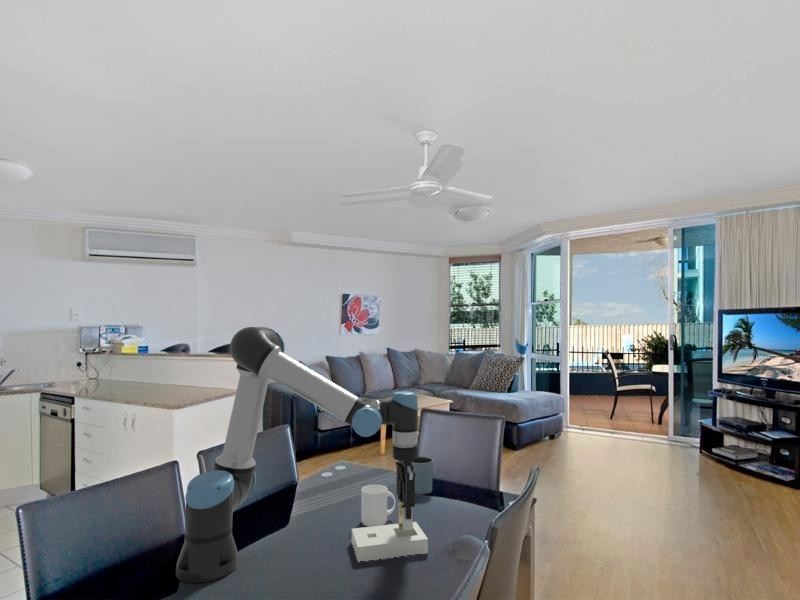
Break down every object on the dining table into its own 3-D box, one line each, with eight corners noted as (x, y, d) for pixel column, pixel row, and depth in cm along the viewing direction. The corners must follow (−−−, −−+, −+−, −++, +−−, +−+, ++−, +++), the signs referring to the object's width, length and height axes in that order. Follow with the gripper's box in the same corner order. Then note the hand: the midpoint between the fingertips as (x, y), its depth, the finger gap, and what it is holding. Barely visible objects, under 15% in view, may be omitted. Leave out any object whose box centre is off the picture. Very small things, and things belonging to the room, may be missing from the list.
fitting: (400, 530, 128) (400, 505, 129) (397, 524, 132) (396, 500, 133) (414, 529, 129) (414, 504, 130) (410, 523, 133) (410, 499, 134)
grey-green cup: (434, 495, 172) (433, 463, 173) (408, 494, 172) (407, 463, 173) (432, 486, 182) (432, 456, 183) (407, 486, 182) (407, 456, 183)
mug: (400, 523, 146) (400, 489, 147) (366, 529, 141) (366, 494, 142) (390, 513, 154) (390, 481, 155) (357, 519, 149) (357, 486, 150)
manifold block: (357, 562, 121) (357, 547, 121) (351, 542, 132) (351, 528, 132) (428, 553, 125) (427, 538, 126) (416, 535, 137) (416, 521, 137)
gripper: (425, 451, 125) (426, 537, 123) (409, 437, 142) (409, 513, 140) (400, 452, 123) (400, 540, 121) (386, 439, 140) (386, 516, 138)
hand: (405, 525), depth 130 cm, fingers closed on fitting, 4 cm apart
